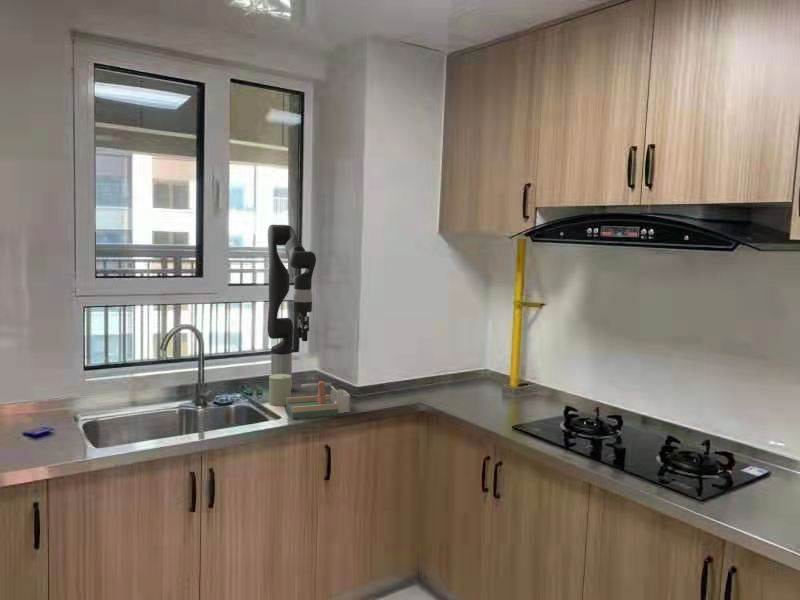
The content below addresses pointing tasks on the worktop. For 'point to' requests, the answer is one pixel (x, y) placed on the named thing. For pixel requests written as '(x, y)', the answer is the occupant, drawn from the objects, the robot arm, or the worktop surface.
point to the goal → (341, 399)
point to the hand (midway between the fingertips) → (302, 339)
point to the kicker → (319, 390)
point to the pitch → (310, 407)
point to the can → (279, 389)
